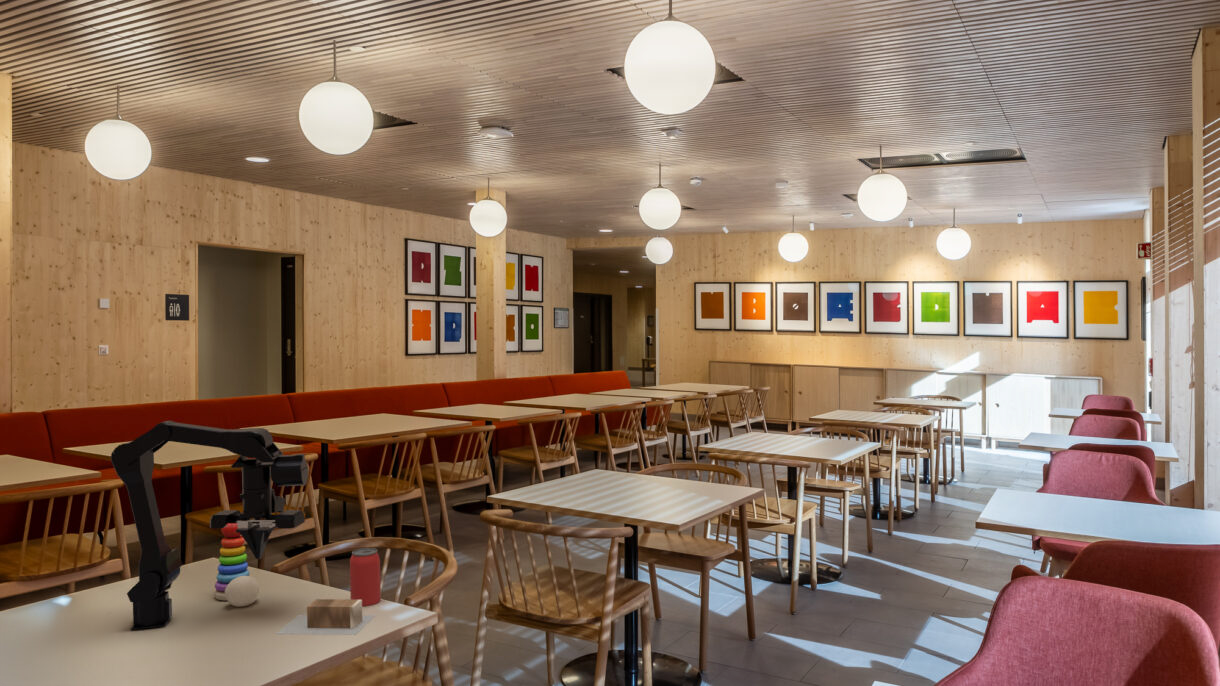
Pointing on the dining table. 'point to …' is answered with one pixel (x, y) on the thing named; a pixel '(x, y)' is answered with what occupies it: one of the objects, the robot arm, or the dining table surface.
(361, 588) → the beer can
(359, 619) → the walnut block
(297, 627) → the rubber mat
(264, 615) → the dining table surface
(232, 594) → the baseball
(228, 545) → the stacking toy
